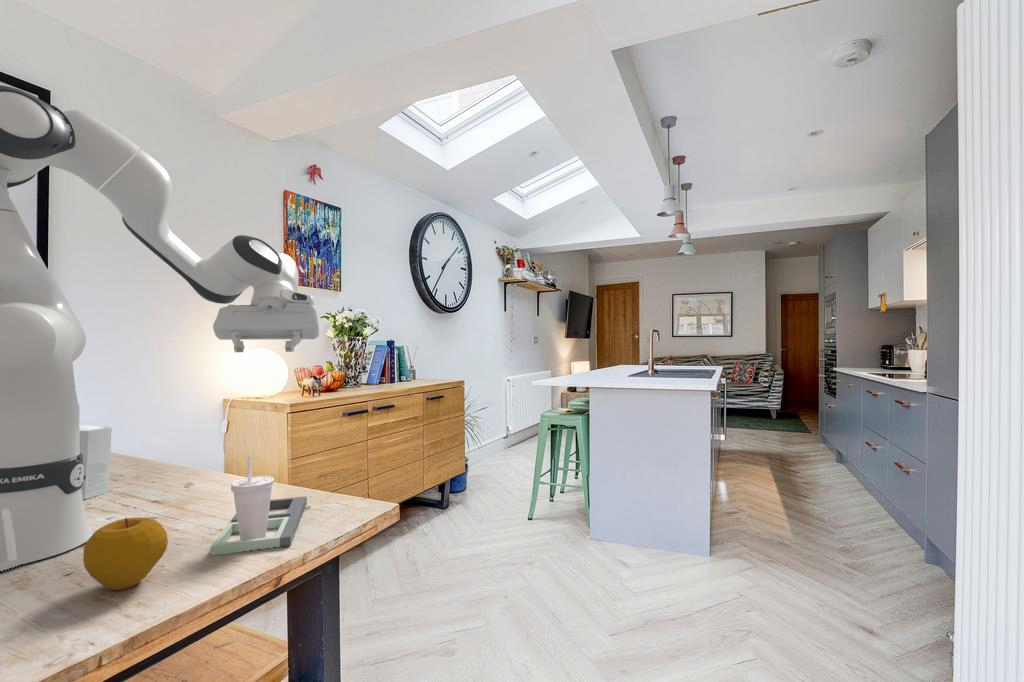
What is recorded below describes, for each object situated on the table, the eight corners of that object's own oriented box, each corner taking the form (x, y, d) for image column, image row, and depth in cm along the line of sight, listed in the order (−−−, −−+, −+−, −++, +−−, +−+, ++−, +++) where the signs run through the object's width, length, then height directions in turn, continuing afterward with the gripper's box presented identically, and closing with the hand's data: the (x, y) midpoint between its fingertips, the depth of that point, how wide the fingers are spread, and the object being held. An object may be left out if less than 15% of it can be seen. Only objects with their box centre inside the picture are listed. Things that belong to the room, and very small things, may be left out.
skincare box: (48, 500, 98) (48, 429, 98) (76, 490, 104) (76, 424, 104) (86, 500, 97) (86, 429, 98) (112, 491, 103) (112, 424, 104)
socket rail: (211, 555, 72) (211, 545, 72) (244, 509, 91) (244, 502, 91) (290, 545, 75) (290, 536, 75) (306, 503, 95) (306, 496, 95)
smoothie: (222, 542, 76) (221, 457, 76) (258, 528, 82) (258, 449, 82) (247, 550, 73) (246, 461, 73) (283, 534, 79) (282, 452, 79)
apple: (184, 571, 67) (184, 508, 67) (121, 605, 58) (121, 533, 58) (132, 565, 68) (132, 505, 68) (63, 599, 60) (63, 529, 60)
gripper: (217, 294, 100) (202, 339, 90) (319, 296, 106) (315, 338, 96) (223, 316, 104) (209, 361, 95) (321, 317, 110) (317, 359, 101)
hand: (264, 350), depth 96 cm, fingers open, 8 cm apart
